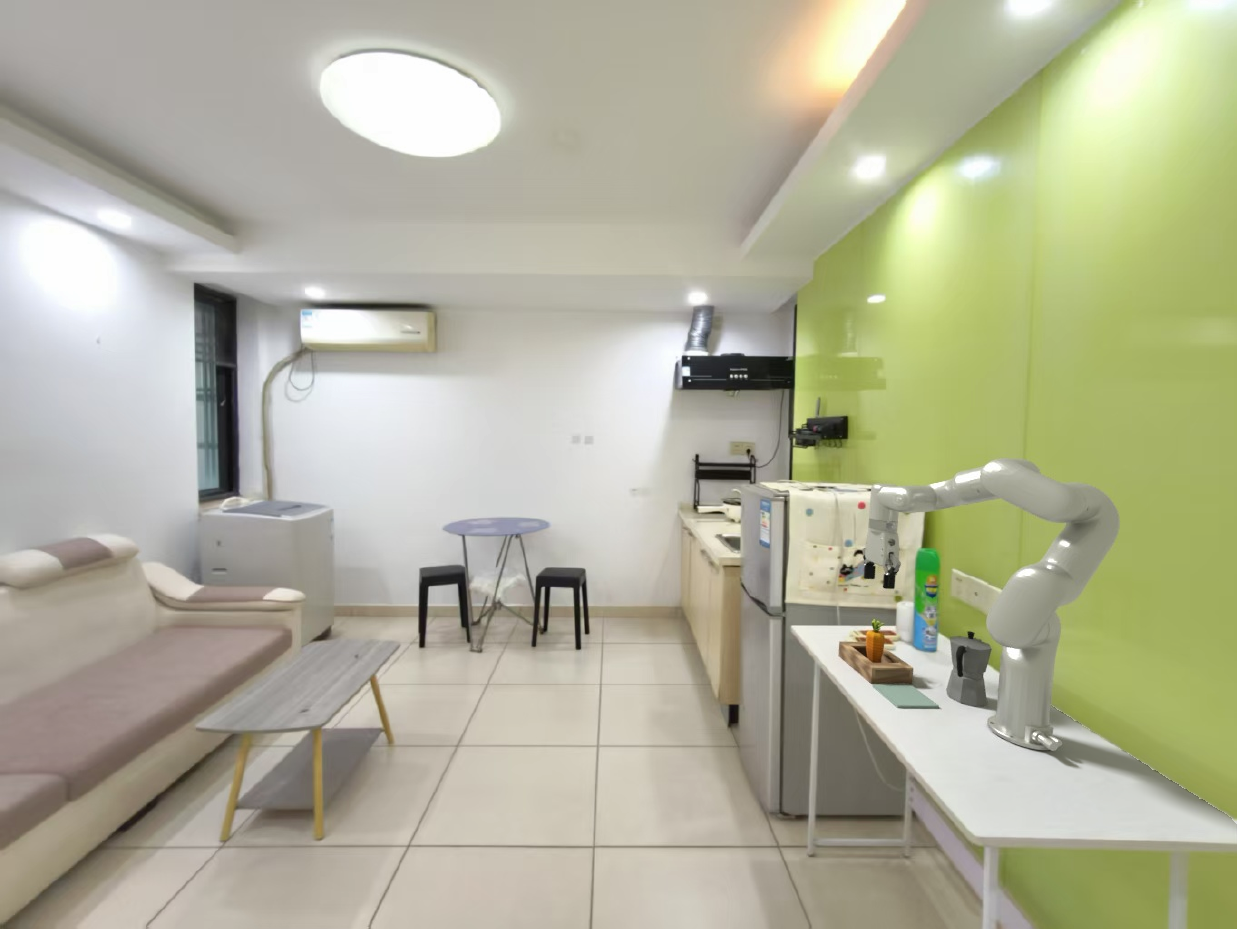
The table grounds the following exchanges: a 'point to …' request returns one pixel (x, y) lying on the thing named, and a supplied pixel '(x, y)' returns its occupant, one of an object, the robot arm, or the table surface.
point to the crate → (876, 665)
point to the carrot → (875, 642)
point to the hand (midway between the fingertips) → (878, 583)
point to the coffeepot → (968, 670)
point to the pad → (905, 696)
